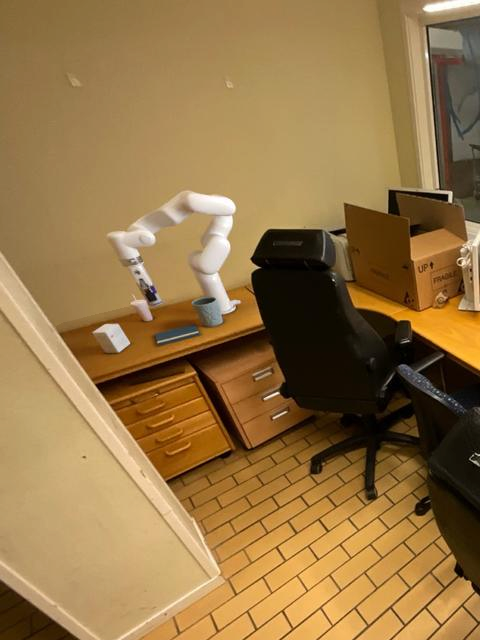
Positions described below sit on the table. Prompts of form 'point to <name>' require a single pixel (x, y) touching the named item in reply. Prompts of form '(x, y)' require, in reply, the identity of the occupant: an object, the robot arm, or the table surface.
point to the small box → (111, 338)
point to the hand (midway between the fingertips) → (152, 298)
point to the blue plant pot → (208, 311)
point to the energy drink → (159, 301)
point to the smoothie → (142, 309)
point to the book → (176, 334)
